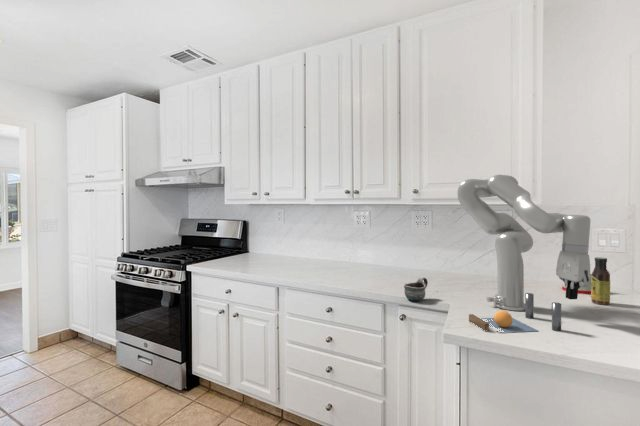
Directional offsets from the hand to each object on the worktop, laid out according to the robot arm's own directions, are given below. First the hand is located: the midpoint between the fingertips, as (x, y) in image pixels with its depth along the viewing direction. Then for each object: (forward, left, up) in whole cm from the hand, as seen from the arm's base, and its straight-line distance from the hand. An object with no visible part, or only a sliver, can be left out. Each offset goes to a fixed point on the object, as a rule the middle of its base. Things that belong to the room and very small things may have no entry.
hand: (571, 298), depth 119 cm
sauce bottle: (+31, +19, -9) cm, 37 cm away
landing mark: (-26, -1, -8) cm, 28 cm away
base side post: (-12, +5, -8) cm, 16 cm away
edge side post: (-12, -8, -8) cm, 17 cm away
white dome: (+41, +40, -9) cm, 58 cm away
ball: (-28, -3, -5) cm, 29 cm away
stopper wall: (-36, -1, -8) cm, 37 cm away
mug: (-45, +34, -9) cm, 57 cm away
